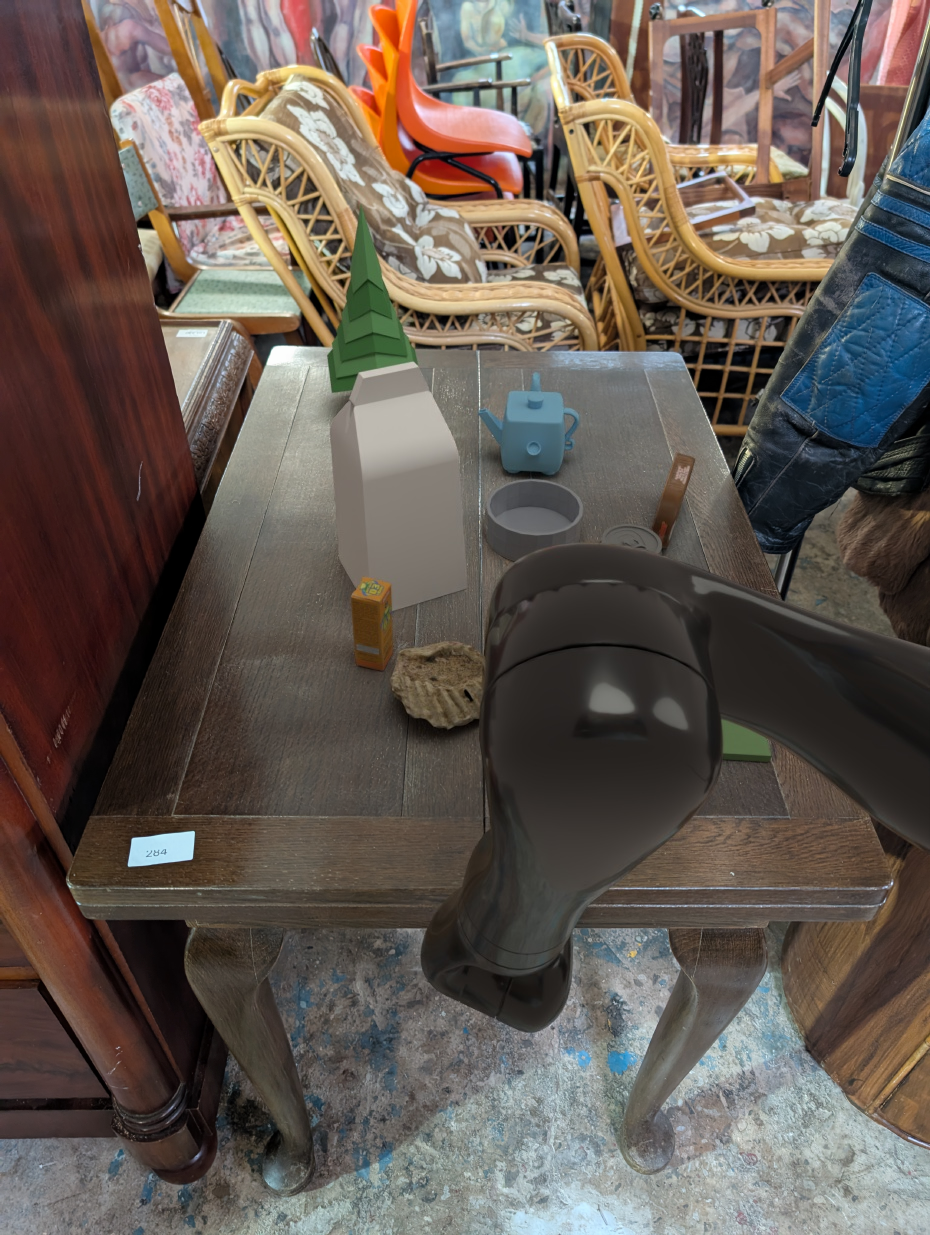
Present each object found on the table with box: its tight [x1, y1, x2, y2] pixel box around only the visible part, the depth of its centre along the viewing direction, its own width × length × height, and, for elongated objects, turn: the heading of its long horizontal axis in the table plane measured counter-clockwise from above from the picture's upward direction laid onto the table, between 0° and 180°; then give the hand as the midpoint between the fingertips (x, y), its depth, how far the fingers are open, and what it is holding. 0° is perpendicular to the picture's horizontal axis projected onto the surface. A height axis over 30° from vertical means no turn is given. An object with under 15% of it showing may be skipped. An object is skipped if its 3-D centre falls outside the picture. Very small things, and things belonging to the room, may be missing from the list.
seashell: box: [389, 640, 483, 730], centre depth 79 cm, size 11×7×10 cm
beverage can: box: [598, 523, 664, 555], centre depth 85 cm, size 7×7×12 cm
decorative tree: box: [326, 204, 419, 394], centre depth 115 cm, size 14×16×30 cm
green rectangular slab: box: [721, 719, 772, 763], centre depth 78 cm, size 8×6×1 cm
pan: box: [484, 478, 585, 563], centre depth 100 cm, size 12×12×4 cm
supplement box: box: [350, 577, 394, 672], centre depth 82 cm, size 3×3×10 cm
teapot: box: [477, 371, 581, 476], centre depth 111 cm, size 18×14×10 cm
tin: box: [650, 451, 696, 549], centre depth 100 cm, size 15×3×8 cm, turn 159°
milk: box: [329, 362, 469, 612], centre depth 87 cm, size 12×12×26 cm
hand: (616, 643), depth 78 cm, fingers closed
